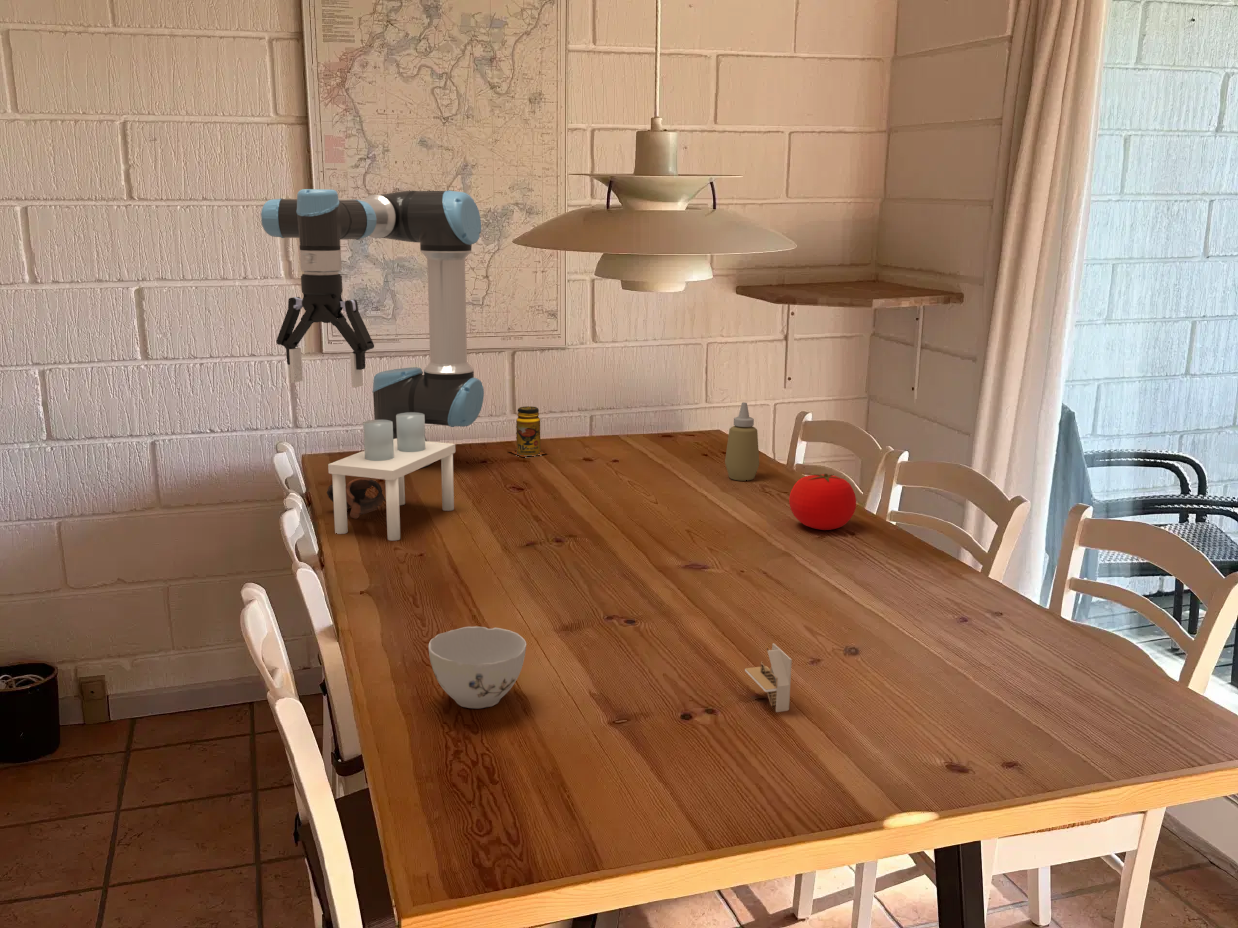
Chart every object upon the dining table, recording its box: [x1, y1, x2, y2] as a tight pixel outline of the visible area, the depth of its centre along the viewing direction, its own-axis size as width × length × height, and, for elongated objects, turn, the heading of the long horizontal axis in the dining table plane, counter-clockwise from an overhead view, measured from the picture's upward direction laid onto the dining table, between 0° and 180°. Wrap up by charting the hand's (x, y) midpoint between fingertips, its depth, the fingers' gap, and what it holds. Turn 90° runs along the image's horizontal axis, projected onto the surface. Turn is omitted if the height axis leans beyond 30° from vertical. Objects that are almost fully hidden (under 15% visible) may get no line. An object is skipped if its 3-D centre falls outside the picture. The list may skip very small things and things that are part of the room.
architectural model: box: [744, 643, 793, 713], centre depth 145 cm, size 3×7×7 cm, turn 16°
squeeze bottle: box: [724, 401, 760, 482], centre depth 259 cm, size 8×8×18 cm
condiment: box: [515, 405, 542, 456], centre depth 282 cm, size 7×8×12 cm
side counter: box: [327, 439, 456, 542], centre depth 222 cm, size 25×14×14 cm, turn 161°
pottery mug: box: [326, 477, 386, 520], centre depth 228 cm, size 12×10×8 cm
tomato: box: [788, 473, 857, 531], centre depth 222 cm, size 12×13×11 cm
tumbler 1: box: [362, 419, 394, 461], centre depth 216 cm, size 6×6×7 cm
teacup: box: [428, 626, 527, 710], centre depth 145 cm, size 15×12×8 cm
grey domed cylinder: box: [396, 412, 426, 452], centre depth 224 cm, size 6×6×7 cm
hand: (326, 384), depth 215 cm, fingers open, 13 cm apart
